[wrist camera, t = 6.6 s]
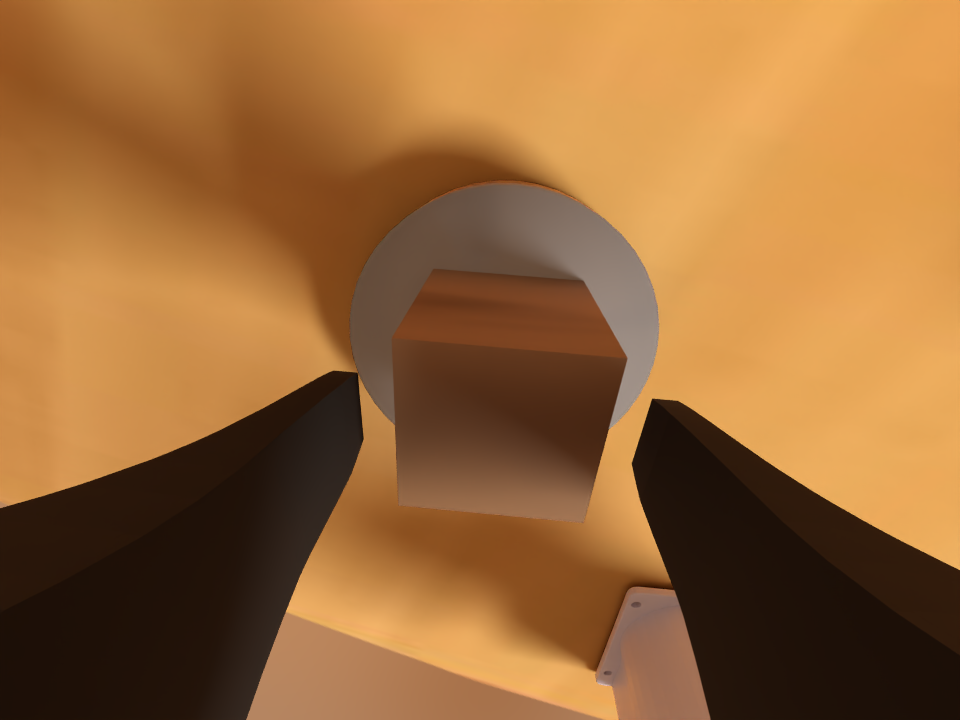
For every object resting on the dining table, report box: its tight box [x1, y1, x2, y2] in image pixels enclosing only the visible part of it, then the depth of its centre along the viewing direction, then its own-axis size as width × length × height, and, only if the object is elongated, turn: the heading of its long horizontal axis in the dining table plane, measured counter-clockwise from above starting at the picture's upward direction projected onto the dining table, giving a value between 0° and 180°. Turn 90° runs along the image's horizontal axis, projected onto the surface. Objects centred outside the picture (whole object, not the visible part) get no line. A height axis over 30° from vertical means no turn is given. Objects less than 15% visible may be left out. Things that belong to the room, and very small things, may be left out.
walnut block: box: [392, 269, 628, 523], centre depth 11 cm, size 4×4×5 cm
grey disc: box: [350, 180, 659, 429], centre depth 14 cm, size 10×10×2 cm
